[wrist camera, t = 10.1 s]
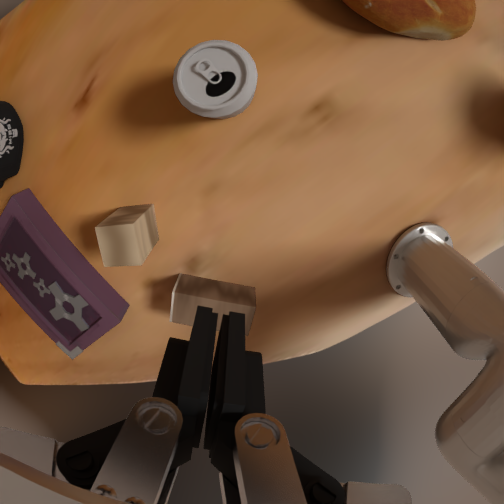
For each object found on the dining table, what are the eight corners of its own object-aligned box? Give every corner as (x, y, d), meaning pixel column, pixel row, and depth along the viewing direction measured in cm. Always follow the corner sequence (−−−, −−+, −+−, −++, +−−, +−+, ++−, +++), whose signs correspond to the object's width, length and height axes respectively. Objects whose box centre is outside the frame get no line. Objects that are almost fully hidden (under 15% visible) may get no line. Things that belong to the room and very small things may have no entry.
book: (-4, 245, 40) (-20, 256, 36) (30, 186, 36) (11, 195, 32) (82, 342, 49) (72, 359, 44) (131, 303, 45) (121, 322, 40)
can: (218, 131, 34) (205, 135, 23) (180, 87, 32) (150, 73, 21) (267, 94, 33) (277, 81, 22) (228, 50, 30) (220, 19, 19)
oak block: (153, 203, 38) (133, 223, 31) (159, 238, 40) (141, 265, 33) (120, 207, 38) (94, 227, 31) (126, 241, 40) (104, 266, 33)
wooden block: (179, 273, 42) (254, 287, 43) (176, 301, 44) (247, 314, 45) (172, 291, 38) (256, 307, 39) (169, 321, 40) (248, 335, 41)
